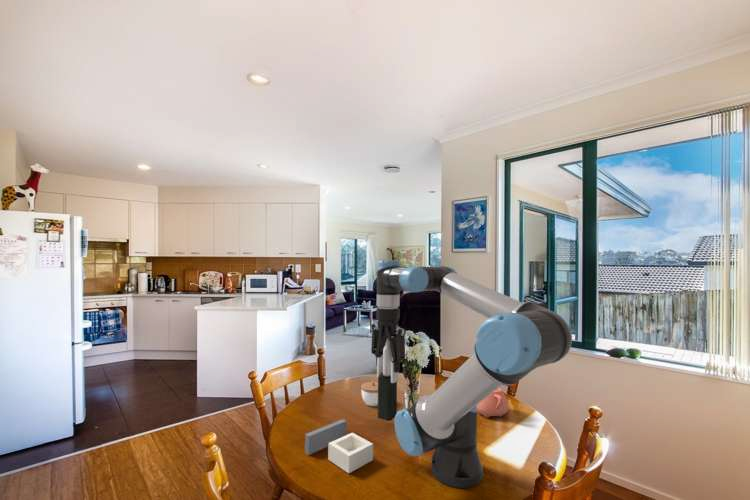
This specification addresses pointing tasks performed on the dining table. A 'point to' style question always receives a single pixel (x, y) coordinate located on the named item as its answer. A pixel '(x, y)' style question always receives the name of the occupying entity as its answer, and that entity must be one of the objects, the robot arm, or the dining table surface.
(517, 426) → the dining table surface
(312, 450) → the backstop wall
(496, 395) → the teapot
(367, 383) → the lidded jar
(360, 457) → the socket block
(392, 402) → the candle
